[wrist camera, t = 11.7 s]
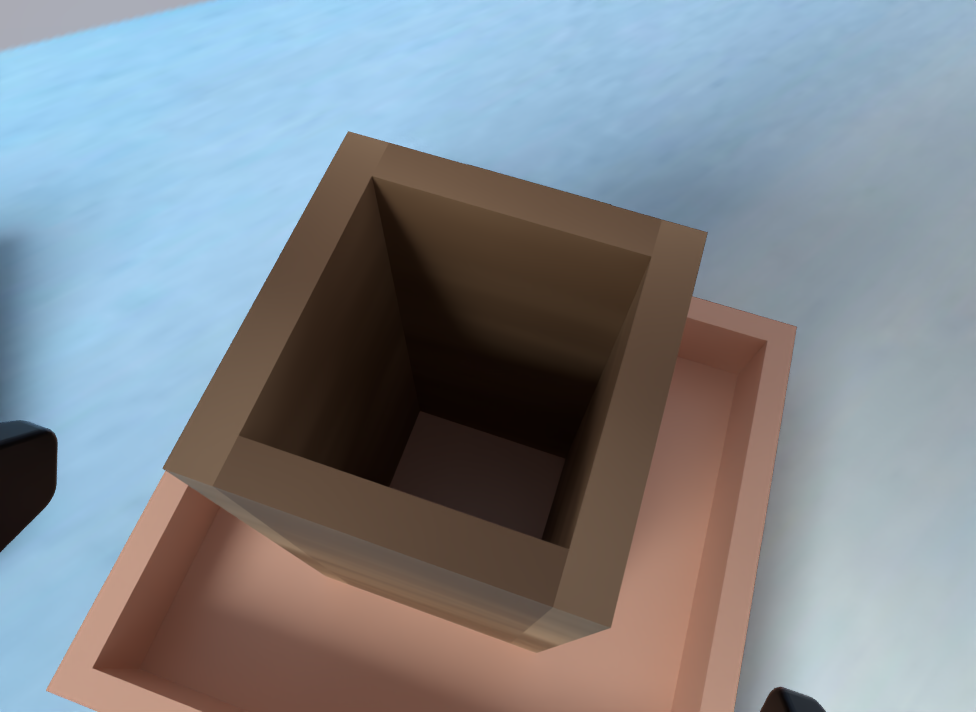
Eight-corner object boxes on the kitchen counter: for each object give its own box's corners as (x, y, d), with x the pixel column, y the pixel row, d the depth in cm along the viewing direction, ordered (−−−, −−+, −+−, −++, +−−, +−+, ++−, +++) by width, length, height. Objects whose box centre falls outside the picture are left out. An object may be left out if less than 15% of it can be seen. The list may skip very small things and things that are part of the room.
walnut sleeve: (536, 653, 15) (610, 628, 7) (325, 576, 16) (162, 468, 7) (607, 400, 18) (724, 162, 9) (423, 342, 18) (381, 70, 10)
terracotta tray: (656, 904, 14) (694, 951, 11) (112, 688, 15) (45, 690, 13) (755, 370, 19) (796, 326, 16) (337, 245, 20) (319, 188, 18)
